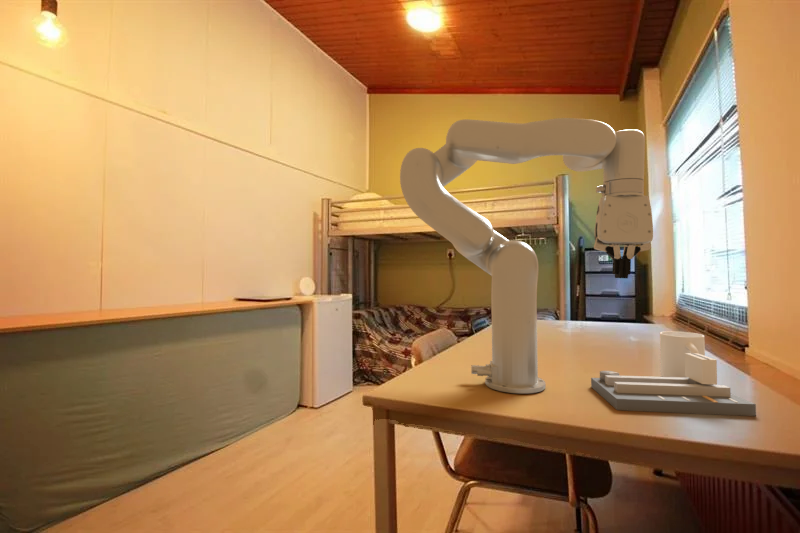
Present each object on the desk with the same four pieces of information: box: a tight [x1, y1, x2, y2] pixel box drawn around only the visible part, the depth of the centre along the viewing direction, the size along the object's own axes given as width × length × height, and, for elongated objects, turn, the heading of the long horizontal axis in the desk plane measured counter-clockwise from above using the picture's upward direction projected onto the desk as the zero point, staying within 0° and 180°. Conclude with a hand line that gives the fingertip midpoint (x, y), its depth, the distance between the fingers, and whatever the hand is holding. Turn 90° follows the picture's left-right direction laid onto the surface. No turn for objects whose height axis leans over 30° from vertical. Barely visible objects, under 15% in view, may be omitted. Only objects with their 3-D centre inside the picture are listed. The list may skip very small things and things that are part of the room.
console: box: [590, 370, 757, 417], centre depth 75 cm, size 22×14×4 cm, turn 81°
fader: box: [685, 353, 718, 385], centre depth 74 cm, size 3×6×6 cm, turn 171°
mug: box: [659, 330, 706, 378], centre depth 87 cm, size 12×8×10 cm
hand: (621, 277), depth 82 cm, fingers closed
